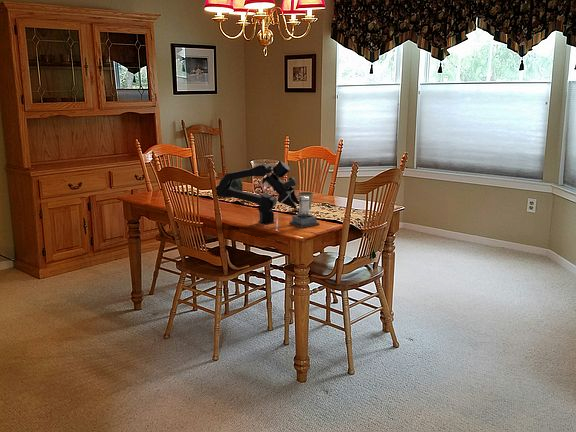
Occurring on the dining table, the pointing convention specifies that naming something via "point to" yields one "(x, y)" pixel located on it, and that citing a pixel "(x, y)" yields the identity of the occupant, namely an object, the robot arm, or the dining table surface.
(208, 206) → the dining table surface
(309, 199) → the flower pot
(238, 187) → the squash
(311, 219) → the grey square tray
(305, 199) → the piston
